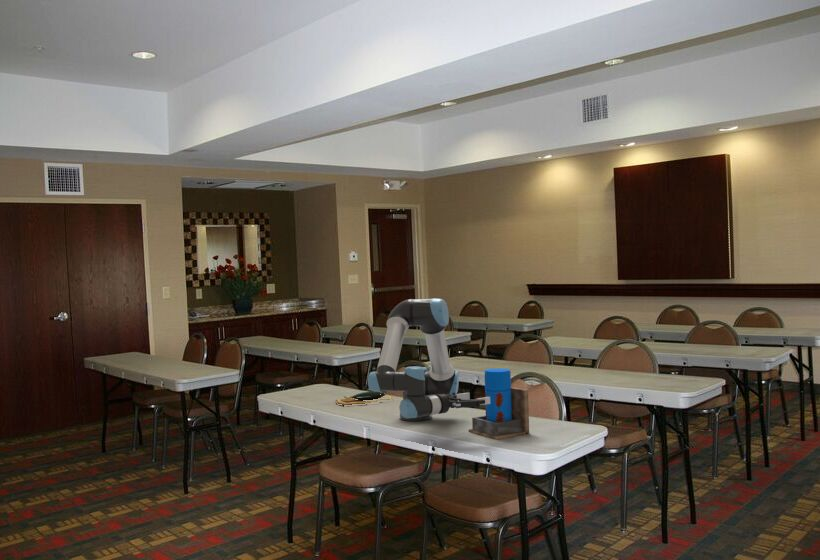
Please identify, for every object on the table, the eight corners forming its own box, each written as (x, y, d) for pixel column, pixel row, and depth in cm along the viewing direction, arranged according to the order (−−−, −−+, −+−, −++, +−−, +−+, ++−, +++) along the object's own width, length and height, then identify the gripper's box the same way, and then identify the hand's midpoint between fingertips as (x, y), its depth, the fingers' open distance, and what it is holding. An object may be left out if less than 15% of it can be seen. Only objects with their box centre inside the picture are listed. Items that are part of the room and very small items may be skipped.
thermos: (487, 433, 289) (485, 372, 289) (484, 427, 300) (483, 368, 300) (514, 432, 289) (512, 371, 289) (510, 426, 300) (508, 368, 300)
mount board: (468, 431, 298) (467, 389, 298) (499, 426, 307) (498, 384, 307) (497, 439, 282) (495, 394, 282) (529, 433, 291) (528, 389, 291)
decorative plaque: (384, 384, 392) (397, 389, 373) (384, 397, 392) (398, 402, 373) (331, 389, 380) (342, 394, 362) (331, 402, 380) (342, 408, 362)
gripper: (419, 409, 288) (461, 403, 300) (455, 418, 267) (499, 411, 279) (418, 391, 288) (460, 385, 300) (454, 399, 267) (498, 392, 279)
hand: (479, 398), depth 289 cm, fingers open, 13 cm apart
